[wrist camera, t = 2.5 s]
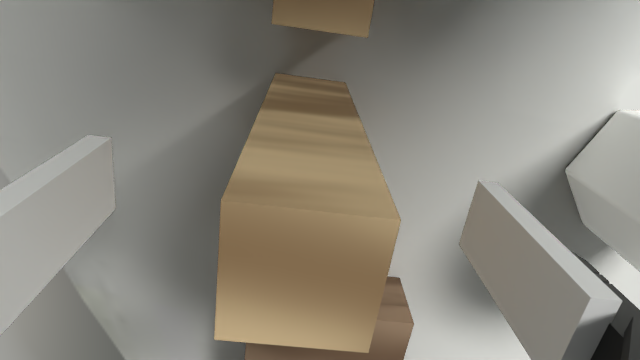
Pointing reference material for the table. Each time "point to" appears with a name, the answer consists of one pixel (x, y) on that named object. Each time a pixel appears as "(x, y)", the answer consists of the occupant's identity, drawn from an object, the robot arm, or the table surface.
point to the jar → (611, 184)
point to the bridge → (384, 345)
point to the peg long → (304, 225)
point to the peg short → (325, 15)
